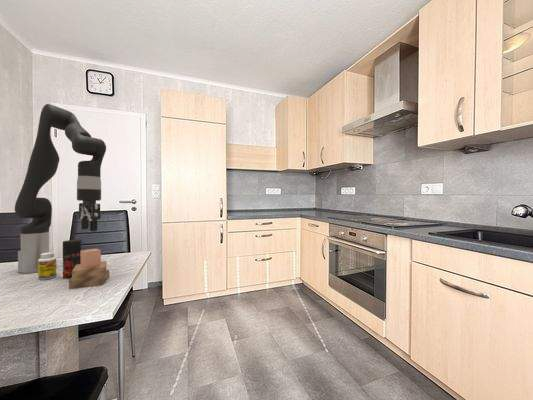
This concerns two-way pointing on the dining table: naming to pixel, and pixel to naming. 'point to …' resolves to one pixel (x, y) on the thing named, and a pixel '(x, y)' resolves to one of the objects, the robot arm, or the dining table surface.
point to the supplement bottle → (47, 266)
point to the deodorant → (70, 257)
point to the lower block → (88, 282)
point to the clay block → (90, 258)
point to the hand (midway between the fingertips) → (89, 230)
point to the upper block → (88, 271)
